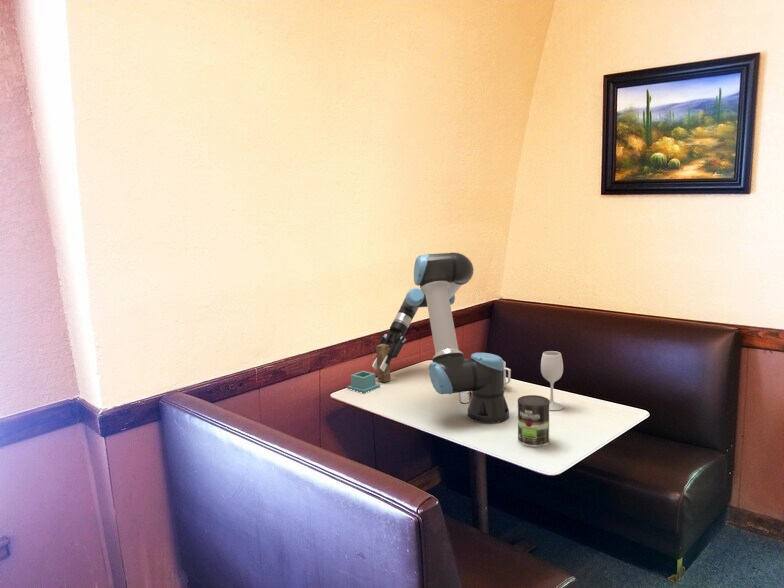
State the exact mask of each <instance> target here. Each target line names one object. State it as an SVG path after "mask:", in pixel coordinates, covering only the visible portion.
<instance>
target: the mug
mask: <svg viewBox="0 0 784 588" xmlns="http://www.w3.org/2000/svg"><path fill="white" fill-rule="evenodd" d="M503 366H504V389H505V388H506V386H507V385H508V384H509V383H511V374H512V373H511V372H512V370H511V368H508V367H506V361H504V360H503ZM506 371H507V372H506Z"/></svg>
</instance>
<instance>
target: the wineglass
mask: <svg viewBox="0 0 784 588" xmlns="http://www.w3.org/2000/svg"><path fill="white" fill-rule="evenodd" d="M563 361H564V360H563V356H562V353H561V352H559V351H554V350H548V351H547V350H546V351H543V352H542V355H541V360H540V374H541V375H542V377H543V379H545V380H546V381H547V382H549V384H550V386H549V387H550V397H549V400H550V404H549V411H561V410H563V409H564V408H565V406H564V405H563V404H562V403H560V402H557V401H555V400H554V384H555V382H557V381H559V380H560V379H561V378H562V377H563V376H562V375H563V373H564V362H563Z"/></svg>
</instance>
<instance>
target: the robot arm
mask: <svg viewBox="0 0 784 588" xmlns="http://www.w3.org/2000/svg"><path fill="white" fill-rule="evenodd" d="M413 265H414V266H413V281H414V282H413V283H414V285H415V286H418V287H420V288H418V287H413V288H411V289H409V290H408V291H407V293H406V295H405V297H404V299H403V302H402V304H401V305H400V308H399V309H398V312H397V313H396V316H395V317H394V319H393V321H392V323H391V325H390V327H389V331H388V332H387V333H385V334H384V333H381V336H380V339H379V341H378V343H377V345H380V344H386V345H389V354H387V355H388V356H386V357H385V359H384V361H383V363H382V365H381V366H380V369H381V370H382V371H385V369H386V367H387V365H388V364H389V363H390V362H391V361H392V359H396V358H397V357H398V355H399V354H400V352H401V350H402V348H403V346H404V344H405V343H406V342H407V339H406V338H405V337H404V336H405V335H406V333H407V332H408V328H409V327H410V325H411V324H412V321H413V319H414V317H415V316H416V313H417V312H418V310H419V309H421V308H427V311H428V312H427V313H428V318H429V323H430V329H431V330H430V331H431V335H432V341H433V346H434V354H435V355H433V357H432V358H431V359H432V361H431V363H430V364H429V366H428V371H429V372H428V374H429V375H428V376H429V379H430V382H431V385H432V387H433V389H434V390H435V392H437V393H438V394H439V395H453V394H457V393H465V392H467V393H468V392H471V398H470V401H469V405H468V407H467V417H468V419H469V420H472V421H474V422H477V423H481V424H483V423H484V424H498V423H501V422H504V421H506V420H508V419H510V418H509V417H510V410H509V407H508V404H507V401H506V397H505V388H504V366H503V361H504V360H503V358H502V357H501V356H499V355H497V354H493V353H490V352H489V353H488V352H474V353H471V355H470V358H465V354H464V353H463V351H461V350H460V349H459V344H458V339H457V335H456V328H455V324H454V318H453V312H452V306H451V305H453V304H454V303H455V300H456V296H455V294H456V293H457V292H458V290H460V288H461V287H462V286H463V285H466V284H467V283H469V281H471V280H472V277H473V275H474V266H473V263H472V261H471V260H470V258H468V257H467V256H466V255H464V254H463V253H460V252H454V251H453V252H445V253H444V252H443V253H441V252H440V253H427V254H419V255H418V256H417V257H416V258H415V261H414V264H413ZM374 353H375V354H376V356H375V358H374V361H373V363H372V366H371V367H372V368H373V370H374V371H375V370H377V351H376V348H375V350H374ZM390 364H391V363H390Z"/></svg>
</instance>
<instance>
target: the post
mask: <svg viewBox="0 0 784 588" xmlns="http://www.w3.org/2000/svg"><path fill="white" fill-rule="evenodd" d="M375 349H376V351H377V353H376V355H377V369H376V370H377V381H378V382H383V383H386V382H388V381H391V363H389V364H388V365H387V367H386V369H385V371H382V370H381V369H380V366H381V365H382V363H383V361H384V359H385V357H386V356H388V355H387V354H389V350H390V345H386V344H380V345H378V344H377V345H376V347H375Z"/></svg>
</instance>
